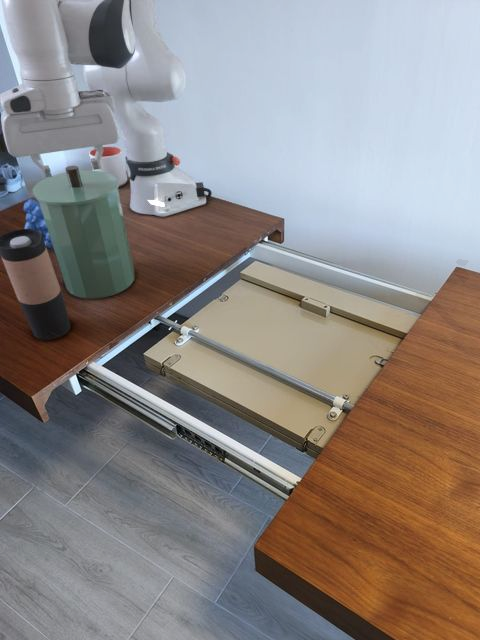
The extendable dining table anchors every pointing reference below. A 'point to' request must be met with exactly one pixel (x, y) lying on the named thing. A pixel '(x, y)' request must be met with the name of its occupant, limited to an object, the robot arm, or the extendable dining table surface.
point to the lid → (75, 187)
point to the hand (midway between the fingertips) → (72, 172)
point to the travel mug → (35, 282)
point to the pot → (91, 246)
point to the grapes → (36, 220)
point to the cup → (112, 163)
